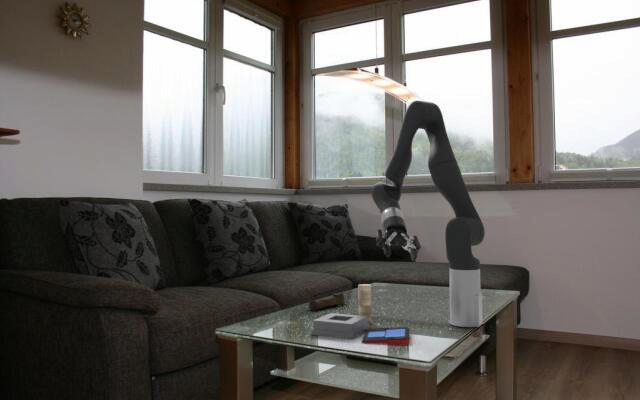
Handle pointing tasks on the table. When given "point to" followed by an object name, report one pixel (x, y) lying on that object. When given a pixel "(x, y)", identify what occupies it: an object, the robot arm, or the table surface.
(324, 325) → the tool holder
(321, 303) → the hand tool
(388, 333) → the game console
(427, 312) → the table surface
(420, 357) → the table surface
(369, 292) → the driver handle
